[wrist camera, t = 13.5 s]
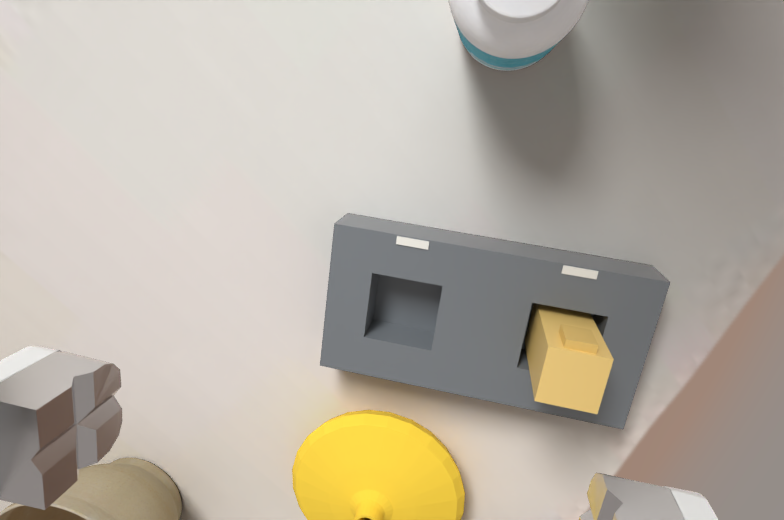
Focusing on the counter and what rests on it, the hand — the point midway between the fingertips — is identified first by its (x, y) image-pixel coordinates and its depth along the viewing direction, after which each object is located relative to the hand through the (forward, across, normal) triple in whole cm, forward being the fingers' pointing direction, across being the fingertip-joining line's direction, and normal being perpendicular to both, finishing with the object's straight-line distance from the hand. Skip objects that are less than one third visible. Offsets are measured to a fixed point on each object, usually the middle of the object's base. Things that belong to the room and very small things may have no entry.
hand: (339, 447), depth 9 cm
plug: (+33, -10, +10) cm, 35 cm away
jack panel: (+33, -4, +10) cm, 35 cm away
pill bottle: (+33, -2, -12) cm, 35 cm away
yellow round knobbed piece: (+34, +2, +28) cm, 44 cm away
